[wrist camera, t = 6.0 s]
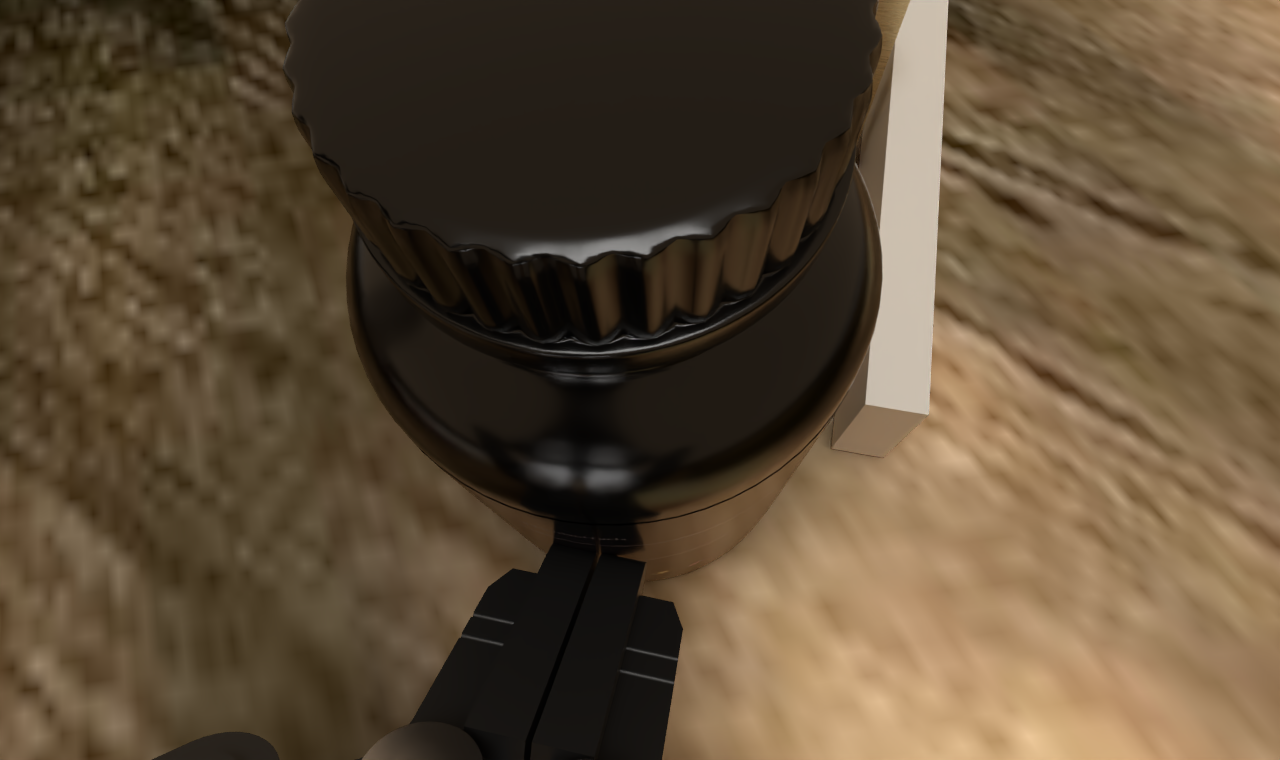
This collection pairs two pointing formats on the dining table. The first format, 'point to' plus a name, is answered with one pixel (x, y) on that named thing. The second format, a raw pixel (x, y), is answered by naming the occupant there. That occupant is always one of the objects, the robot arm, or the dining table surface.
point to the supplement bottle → (602, 247)
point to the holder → (901, 236)
